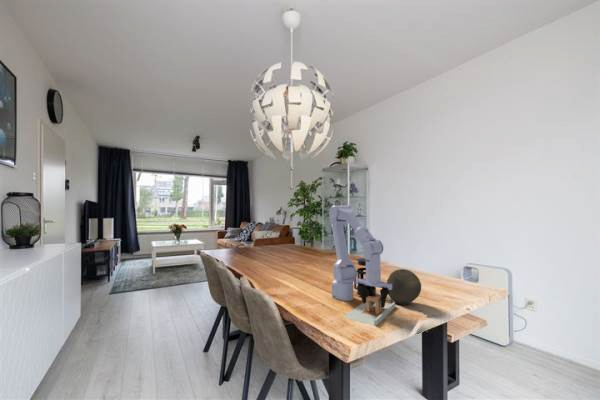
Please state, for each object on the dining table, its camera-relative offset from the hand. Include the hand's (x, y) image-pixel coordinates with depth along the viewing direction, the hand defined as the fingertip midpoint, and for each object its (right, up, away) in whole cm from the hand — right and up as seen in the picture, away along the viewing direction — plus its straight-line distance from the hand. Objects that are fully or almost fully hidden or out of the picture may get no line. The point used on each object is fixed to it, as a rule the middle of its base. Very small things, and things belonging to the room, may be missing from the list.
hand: (373, 304), depth 108 cm
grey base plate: (-1, -4, 0) cm, 4 cm away
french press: (+3, -5, +25) cm, 26 cm away
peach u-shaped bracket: (0, -3, 0) cm, 3 cm away
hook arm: (+1, -4, +1) cm, 4 cm away
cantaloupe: (+16, -4, +11) cm, 20 cm away
